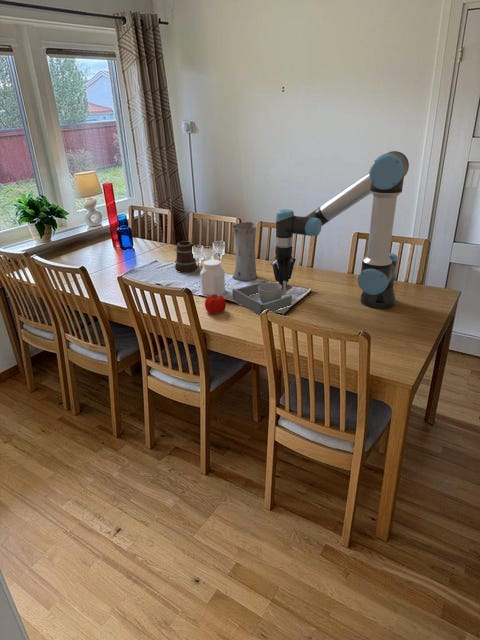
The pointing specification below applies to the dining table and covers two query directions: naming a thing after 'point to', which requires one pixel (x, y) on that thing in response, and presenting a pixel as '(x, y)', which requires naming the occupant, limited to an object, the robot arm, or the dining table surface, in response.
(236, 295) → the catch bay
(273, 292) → the teacup
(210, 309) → the tomato
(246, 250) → the vase
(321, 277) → the dining table surface
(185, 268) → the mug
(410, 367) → the dining table surface
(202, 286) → the jar
